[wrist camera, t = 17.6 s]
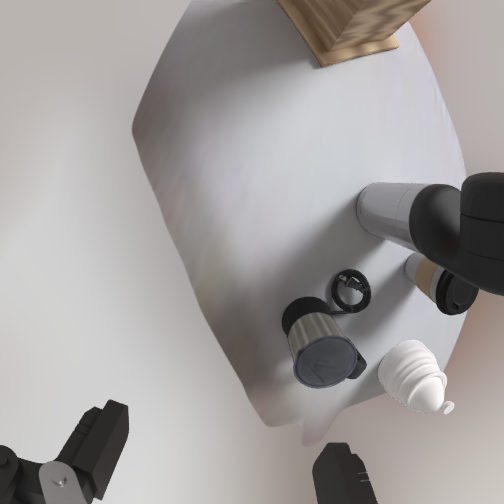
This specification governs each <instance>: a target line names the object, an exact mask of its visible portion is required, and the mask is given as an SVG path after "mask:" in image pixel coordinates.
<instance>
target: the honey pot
mask: <svg viewBox="0 0 504 504" xmlns="http://www.w3.org/2000/svg"><path fill="white" fill-rule="evenodd" d="M441 378H442V379H441ZM378 379H379V381H380V383H381V384H382V386H383V387H384V389H385V390H386V392H387V393H388V395H390V396H391V397H392V398H393V399H396V400H397V401H399V402H400V403H401V404H404V405H406V407H407V408H408V409H409V410H410V411H414V412H416V411H421V412H426V413H433V412H436V411H438V410H439V409H441V408H442V410H443V413H444V414H448V413H449V412H450V411H452V409H453V408H454V403H453V402H451V401H446V402H444V404H443V400H444V390H445V387H446V384H447V377H446V375H445V374H444V373H443V372H440V369H439V367H438V365H437V362H436V358H435V356H434V355H433V354H432V353H431V352H430V351H429V350H428V349H427V348H426V347H425V346H424V345H423V344H422V343H421V342H419V341H417V340H407V341H404V342H402V343H399V344H398V345H396V346H395V347H393V348H392V349H391V350H390V351H389V352H388V353H387V354H386V355H385V356H384V358H383V359H382V361H381V363H380V365H379V368H378ZM442 404H443V405H442Z"/></svg>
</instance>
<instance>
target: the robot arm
mask: <svg viewBox="0 0 504 504" xmlns="http://www.w3.org/2000/svg"><path fill="white" fill-rule="evenodd" d="M356 210H357V217H358V220H359V222H360V224H361V225H362V227H363V228H364V229H365V230H366V231H368V232H370V233H372V234H374V235H377V236H379V237H381V238H384V239H386V240H389V241H391V242H394V243H396V244H399V245H401V246H403V247H406V248H408V249H411V250H413V251H416V252H418V253H420V254H423V255H425V257H426V258H427V259H428V260H430V261H431V262H433V263H435V264H437V265H439V266H440V267H442V268H444V269H446V270H447V271H449V272H451V273H452V274H454V275H456V276H457V277H459V278H460V279H462V280H464V281H466V282H467V283H469V284H471V285H473V286H475V287H477V288H479V289H481V290H484V291H486V292H489V293H492V294H497V295H501V296H504V173H500V172H486V173H479V174H475V175H472V176H469V177H468V178H467V179H466V180H465V181H464V182H463V184H462V187H461V191H460V190H458V189H457V188H455V187H453V186H450V185H445V184H416V183H373V184H371V185H369V186H367V187H366V188H365V189H364V190H363V191H362V192H361V194H360V196H359V198H358V201H357V206H356ZM128 433H129V416H128V406H127V405H124V404H122V403H119V402H116V401H113V400H108V402H107V403H106V405H105V407H104V408H103V410H102V409H100V408H97V407H93V408H92V409H90V410H89V411H87V412H85V413H84V415H83V417H82V418H81V420H80V421H79V424H77V426H76V428H75V430H74V431H73V432H72V434H71V436H70V437H69V439H68V440H67V442H66V444H65V445H64V447H63V449H62V450H61V452H60V454H59V455H58V457H57V458H56V459H55V460H53V461H50V462H47V463H44V464H41V463H35V462H31V461H28V460H24V459H21V458H18V457H17V456H16V454H15V453H14V452H13V451H12V450H11V449H10V448H8V447H6V446H3V445H0V504H91V503H92V501H93V498H97V499H99V500H102V498H103V496H104V493H105V491H106V489H107V486H108V484H109V481H110V479H111V476H112V474H113V471H114V469H115V467H116V464H117V462H118V460H119V457H120V455H121V452H122V450H123V448H124V445H125V443H126V441H127V437H128ZM312 474H313V479H314V485H315V490H316V496H317V501H318V504H378V503H377V500H376V497H375V495H374V491H373V489H372V486H371V483H370V481H369V477H368V474H366V469H365V466H364V463H363V461H362V460H361V459H360V458H359V457H358V456H357V454H351V451H350V448H349V445H348V444H347V443H328V444H327V445H326V447H325V448H324V449H323V451H322V452H321V454H320V455H319V457H318V458H317V460H316V461H315V463H314V465H313V470H312Z"/></svg>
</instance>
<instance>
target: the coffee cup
mask: <svg viewBox="0 0 504 504" xmlns="http://www.w3.org/2000/svg"><path fill="white" fill-rule="evenodd" d="M405 273H406V276H407V277H408V278H409V279H410V280H411V281H412V282H413V283H414V284H415V285H417V287H418V288H419V289H420V290H421V291H422V292H423V293H424V294H425V295H427V296H428V297H429V298H430V299H431V300H432V301H433V302H434V303H436V304H437V307H438V309H439V310H440V311H441V312H442V313H444V314H447V315H456V314H461V313H463V312H465V311H466V310H468V309H469V307H470V306H471V305H472V304H473V302H474V301H475V299H476V296H477V294H478V290H479V288H477V287H475V286H473V285H471V284H469V283H467V282H466V281H464V280H462V279H460V278H459V277H457V276H456V275H454V274H452V273H451V272H449V271H447V270H446V269H444V268H442V267H440V266H439V265H437V264H435V263H433V262H431V261H430V260H428V259H427V258H426V257H425V255H423V254H420V253H418V252H415V253H413V254H412V255H411V256H410V257H409V258H408V260H407V262H406V266H405Z"/></svg>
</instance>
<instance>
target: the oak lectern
mask: <svg viewBox="0 0 504 504" xmlns="http://www.w3.org/2000/svg"><path fill="white" fill-rule="evenodd" d="M276 1H277V2H278V3H279V5H280V6H281V7H282V9H283V10H284V11H285V13H286V14H287V15H288V17H289V18H290V20H291V21H292V22H293V24H294V25H295V27H296V28H297V29H298V31H299V32H300V34H301V35H302V37H303V38H304V40H305V41H306V43H307V44H308V46H309V47H310V49H311V50H312V52H313V54H314V55H315V57H316V58H317V60H318V62H319V63H320V65H321V66H322V67H325V66H329V65H332V64H335V63H339V62H342V61H346V60H350V59H353V58H357V57H361V56H365V55H369V54H373V53H378V52H382V51H387V50H392V49H397V48H398V47H399V46H400V45H399V43H398V42H397V40H396V39H395V37H394V36H393V33H395V32H396V31H397V30H398V29H399V28H400V27H401V26H402V25H403V24H405V23H406V22H407V21H408V20H409V19H410V18H411V17H412V16H414V15H415V14H416V13H417V12H418V11H419V10H420V9H422V8H423V7H424V6H425V5H426V4H427V3H429V2H430V1H431V0H276Z"/></svg>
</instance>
